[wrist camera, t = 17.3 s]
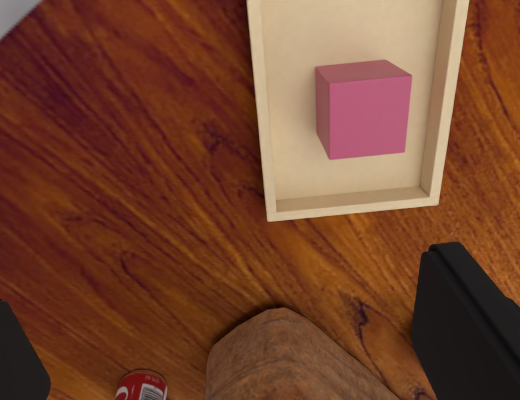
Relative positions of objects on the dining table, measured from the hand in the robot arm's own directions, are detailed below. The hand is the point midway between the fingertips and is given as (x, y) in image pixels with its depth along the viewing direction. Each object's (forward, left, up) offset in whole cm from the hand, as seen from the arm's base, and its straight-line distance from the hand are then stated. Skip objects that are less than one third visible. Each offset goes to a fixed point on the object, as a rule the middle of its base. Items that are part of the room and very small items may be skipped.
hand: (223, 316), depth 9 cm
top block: (+2, +8, -22) cm, 24 cm away
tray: (+2, +8, -23) cm, 24 cm away
